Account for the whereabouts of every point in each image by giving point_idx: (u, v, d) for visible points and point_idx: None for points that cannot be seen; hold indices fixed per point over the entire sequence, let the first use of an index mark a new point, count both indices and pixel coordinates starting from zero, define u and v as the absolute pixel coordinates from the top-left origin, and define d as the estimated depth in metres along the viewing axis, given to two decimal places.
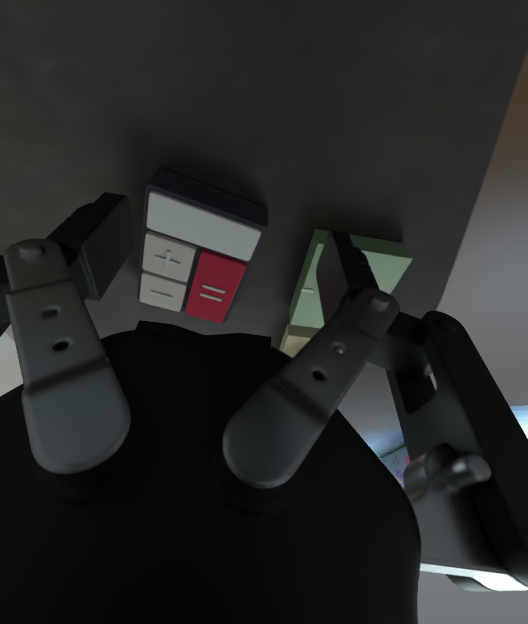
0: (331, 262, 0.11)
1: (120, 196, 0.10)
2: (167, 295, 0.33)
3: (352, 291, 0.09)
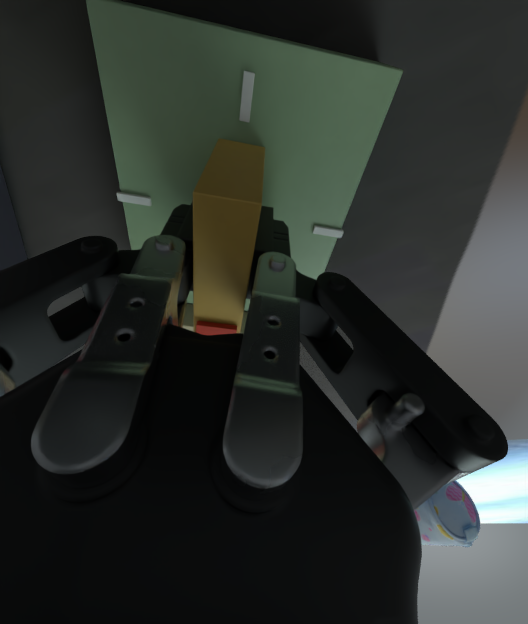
0: None
1: None
2: None
3: (259, 256, 0.10)
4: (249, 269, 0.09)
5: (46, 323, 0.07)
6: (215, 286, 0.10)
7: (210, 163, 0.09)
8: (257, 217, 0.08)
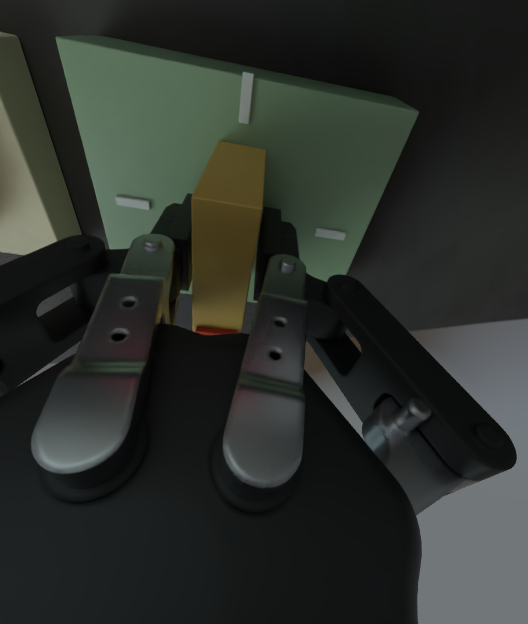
0: (261, 235, 0.11)
1: None
2: None
3: (268, 258, 0.10)
4: (249, 275, 0.09)
5: (36, 324, 0.07)
6: (215, 292, 0.09)
7: (210, 166, 0.09)
8: (258, 222, 0.08)
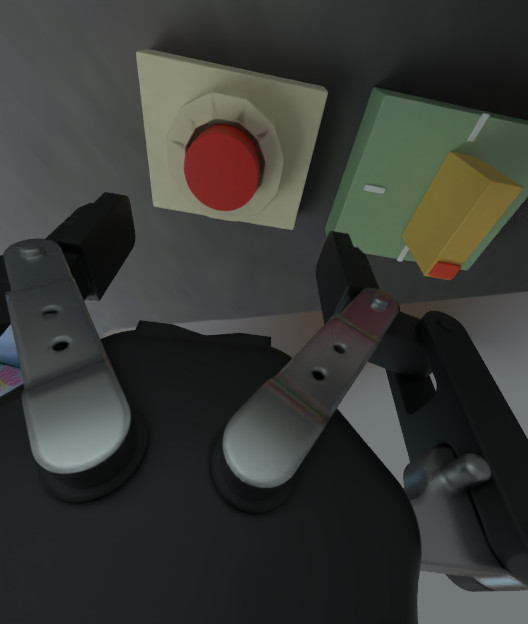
0: (331, 262, 0.11)
1: (120, 196, 0.10)
2: None
3: (352, 291, 0.09)
4: (492, 226, 0.16)
5: None
6: (465, 237, 0.16)
7: (473, 166, 0.16)
8: (517, 195, 0.15)
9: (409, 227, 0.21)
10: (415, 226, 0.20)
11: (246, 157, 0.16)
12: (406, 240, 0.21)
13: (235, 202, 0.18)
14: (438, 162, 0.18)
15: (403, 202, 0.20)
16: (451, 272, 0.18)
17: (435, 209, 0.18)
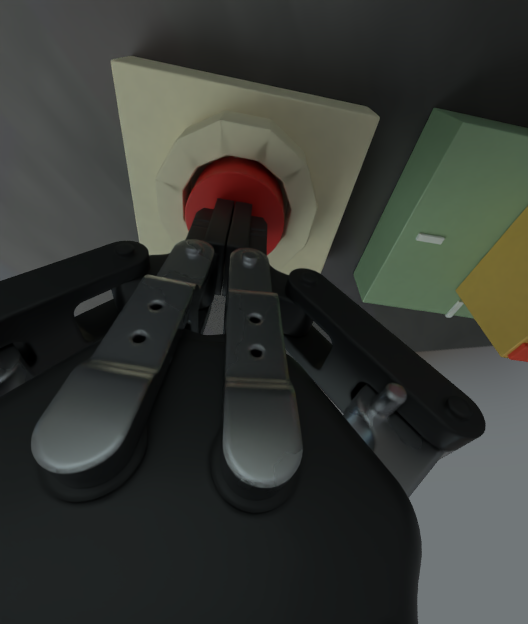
0: None
1: (231, 201, 0.12)
2: None
3: (233, 252, 0.09)
4: None
5: (72, 323, 0.07)
6: None
7: None
8: None
9: (469, 282, 0.16)
10: (479, 284, 0.16)
11: (269, 201, 0.12)
12: (464, 299, 0.17)
13: None
14: (519, 207, 0.14)
15: (464, 253, 0.16)
16: None
17: (515, 270, 0.14)
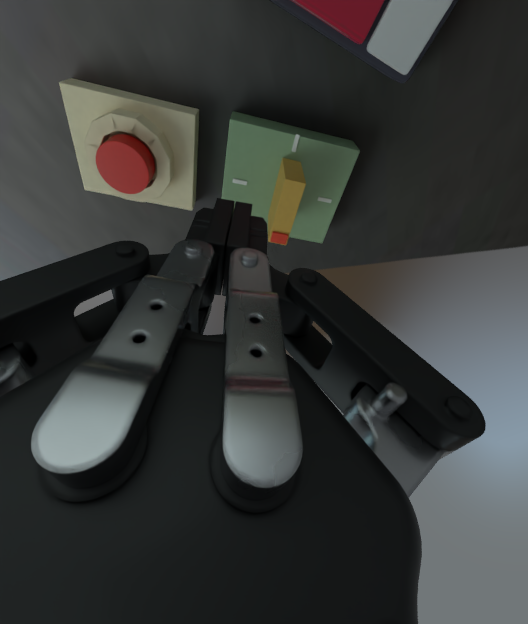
0: None
1: (231, 202, 0.12)
2: None
3: (233, 252, 0.09)
4: (297, 208, 0.25)
5: (72, 323, 0.07)
6: (283, 215, 0.25)
7: (285, 168, 0.25)
8: (304, 188, 0.24)
9: (269, 209, 0.30)
10: (270, 209, 0.29)
11: (137, 157, 0.24)
12: (268, 219, 0.30)
13: (136, 188, 0.26)
14: (277, 164, 0.27)
15: (262, 192, 0.29)
16: (282, 239, 0.27)
17: (275, 196, 0.27)
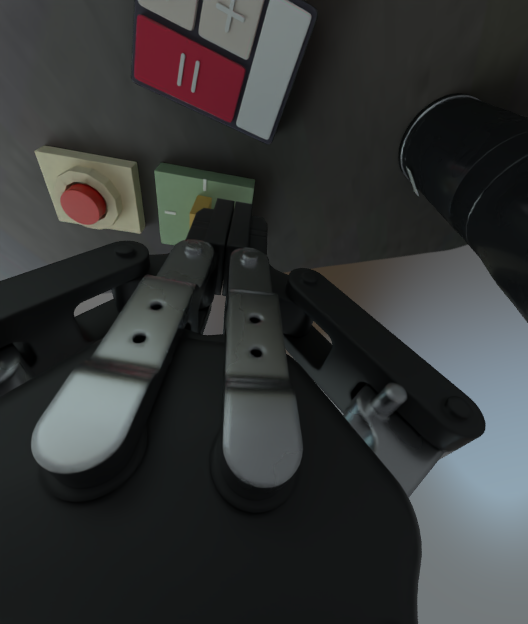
0: None
1: (231, 202, 0.12)
2: None
3: (233, 252, 0.09)
4: None
5: (72, 323, 0.07)
6: None
7: (194, 204, 0.34)
8: None
9: None
10: None
11: (89, 200, 0.34)
12: None
13: (91, 220, 0.36)
14: None
15: (189, 219, 0.38)
16: None
17: None
